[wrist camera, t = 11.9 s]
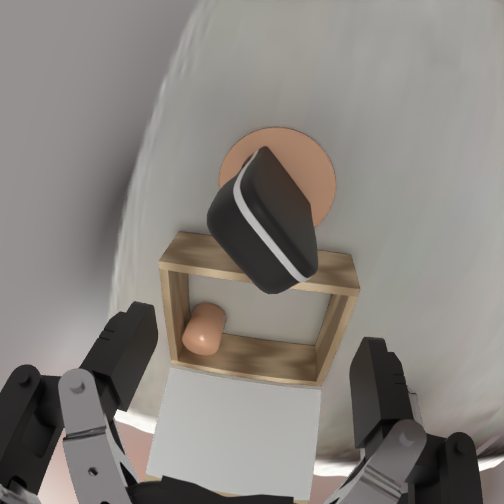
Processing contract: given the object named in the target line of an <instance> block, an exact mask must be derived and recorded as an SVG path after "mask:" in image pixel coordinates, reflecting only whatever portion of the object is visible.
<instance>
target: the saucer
mask: <svg viewBox="0 0 504 504" xmlns="http://www.w3.org/2000/svg"><path fill="white" fill-rule="evenodd" d="M263 146H267V147H268V148H269V149H270V150H271V151H272V153H273V154H274V155H275V157H276V158H277V159H278V160H279V162H280V163H281V164H282V166H283V167H284V168H285V170H286V171H287V172H288V174H289V175H290V176H291V178H292V179H293V180H294V182H295V183H296V184H297V186H298V187H299V188H300V190H301V191H302V193H303V194H304V195H305V197H306V198H307V200H308V201H309V202H310V204H311V212H312V219H313V225H314V227H315V226H317V225H318V224H319V223H320V222H321V221H322V220H323V219H324V217H325V216H326V215H327V213H328V212H329V210H330V208H331V206H332V203H333V201H334V197H335V191H336V179H335V173H334V170H333V166H332V164H331V162H330V160H329V158H328V156H327V155H326V153H325V151H324V150H323V149H322V148H321V147H320V145H319V144H317V143H316V142H315V141H314V140H313V139H311V138H310V137H308V136H307V135H305V134H303V133H301V132H299V131H296V130H293V129H288V128H280V127H273V128H265V129H260V130H257V131H255V132H252V133H250V134H248V135H246V136H245V137H244V138H242V139H241V140H239V141H238V142H237V143H236V144H235V145H234V146H233V147H232V149H231V150H230V151H229V152H228V154H227V156H226V157H225V159H224V161H223V164H222V166H221V170H220V175H219V190H220V189H221V188H222V186H223V185H224V184H226V183H227V182H228V181H229V180H230V179H232V178H233V177H234V176H236V175H237V173H238V172H239V171H240V170H241V168H242V165H243V163H244V162H245V161H246V160H247V158H248V157H249V156H250V155H252V154H253V153H254V151H256V150H257V149H258V148H259V149H260V148H262V147H263Z"/></svg>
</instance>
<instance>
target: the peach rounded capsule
mask: <svg viewBox="0 0 504 504" xmlns="http://www.w3.org/2000/svg"><path fill="white" fill-rule="evenodd" d="M225 322H226V314H225V312H224V311H223V310H222V309H221V308H220V307H219V306H217V305H215V304H212V303H200V304H198V305H196V306H195V308H194V310H193V312H192V315H191V317H190V319H189V322H188V324H187V327H186V329H185V332H184V334H183V337H182V341H183V344H184V345H185V347H186V348H187V349H188V350H190V351H191V352H193V353H195V354H198V355H204V356H207V355H212V354H214V353H216V352H217V350H218V348H219V344H220V341H221V337H222V333H223V330H224V326H225Z"/></svg>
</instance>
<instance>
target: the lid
mask: <svg viewBox="0 0 504 504" xmlns="http://www.w3.org/2000/svg"><path fill="white" fill-rule="evenodd" d="M320 403H321V390H316V389H305V388H294V387H285V386H276V385H268V384H260V383H253V382H246V381H240V380H234V379H228V378H222V377H216V376H211V375H205V374H200V373H195V372H190V371H185V370H181V369H176V368H172V367H171V368H170V372H169V376H168V379H167V383H166V387H165V391H164V395H163V399H162V403H161V407H160V412H159V416H158V420H157V424H156V429H155V433H154V437H153V442H152V446H151V451H150V455H149V460H148V464H147V469H146V474H145V479H144V482H146V481H156V480H158V481H161V479H162V476H163V475H164V476H168V477H172V478H175V479H179V480H183V481H188V482H192V483H195V484H197V485H199V486H202V487H204V488H206V489H208V490H211V491H213V492H215V493H218V494H220V495H222V496H226V497H235V496H248V495H258V494H265V495H276V496H290V497H294V503H297V504H309V498H310V492H311V485H312V478H313V470H314V462H315V454H316V445H317V436H318V425H319V415H320Z"/></svg>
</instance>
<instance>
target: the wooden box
mask: <svg viewBox="0 0 504 504" xmlns="http://www.w3.org/2000/svg"><path fill="white" fill-rule="evenodd" d="M317 253H318V270H317V272H316V273H315V274H314V275H313V276H311V278H310V279H309V280H307V281H305V282H303V283H302V282H300V283H298V284H296V285H294V286H293V287H291V289H299V290H307V291H314V292H322V293H330V294H332V295H331V299H330V302H329V305H328V308H327V312H326V315H325V318H324V321H323V324H322V327H321V330H320V333H319V336H318V339H317V342H316V345H315V346H311V345H302V344H293V343H285V342H277V341H269V340H262V339H255V338H248V337H241V336H235V335H229V334H223V333H222V337H221V341H220V344H219V348H218V350H217V352H216V353H214V354H212V355H207V356H204V355H198V354H195V353H193V352H191V351H190V350H188V349H187V348H186V347H185V345H184V344H183V341H182V337H183V334H184V332H185V329H186V327H187V324H188V322H189V319H190V309H189V289H188V274H195V275H201V276H207V277H214V278H221V279H227V280H234V281H241V282H248V283H253V282H252V281H251V280H250V279H249V277H248V276H247V275H246V274H245V273H244V272H243V271H242V270H241V269H240V268H239V267H238V266H237V264H236V263H235V262H234V261H233V260H232V259H231V258H230V256H229V255H228V254H227V253H226V252H225V251H224V249H223V248H222V247H221V246H220V245H219V244H218V243H217V241H216V240H215V239H214V237H213V236H210V235H202V234H194V233H187V232H178V234H177V235H176V237H175V238H174V239H173V241H172V242H171V244H170V245H169V247H168V248H167V250H166V251H165V252H164V254H163V255H162V257H161V258H160V260H159V270H160V280H161V289H162V298H163V306H164V314H165V322H166V329H167V336H168V343H169V349H170V355H171V362H172V364H174V365H179V366H183V367H188V368H193V369H198V370H203V371H208V372H214V373H219V374H225V375H231V376H237V377H244V378H251V379H258V380H265V381H273V382H281V383H290V384H300V385H311V386H322V384H323V382H324V379H325V377H326V375H327V373H328V370H329V368H330V366H331V364H332V361H333V359H334V357H335V354H336V352H337V349H338V347H339V344H340V342H341V340H342V337H343V335H344V332H345V329H346V327H347V324H348V322H349V319H350V316H351V314H352V311H353V308H354V306H355V303H356V300H357V297H358V295H359V292H360V286H359V282H358V278H357V275H356V271H355V267H354V264H353V260H352V257H351V255H348V254H341V253H334V252H327V251H320V250H317Z"/></svg>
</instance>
